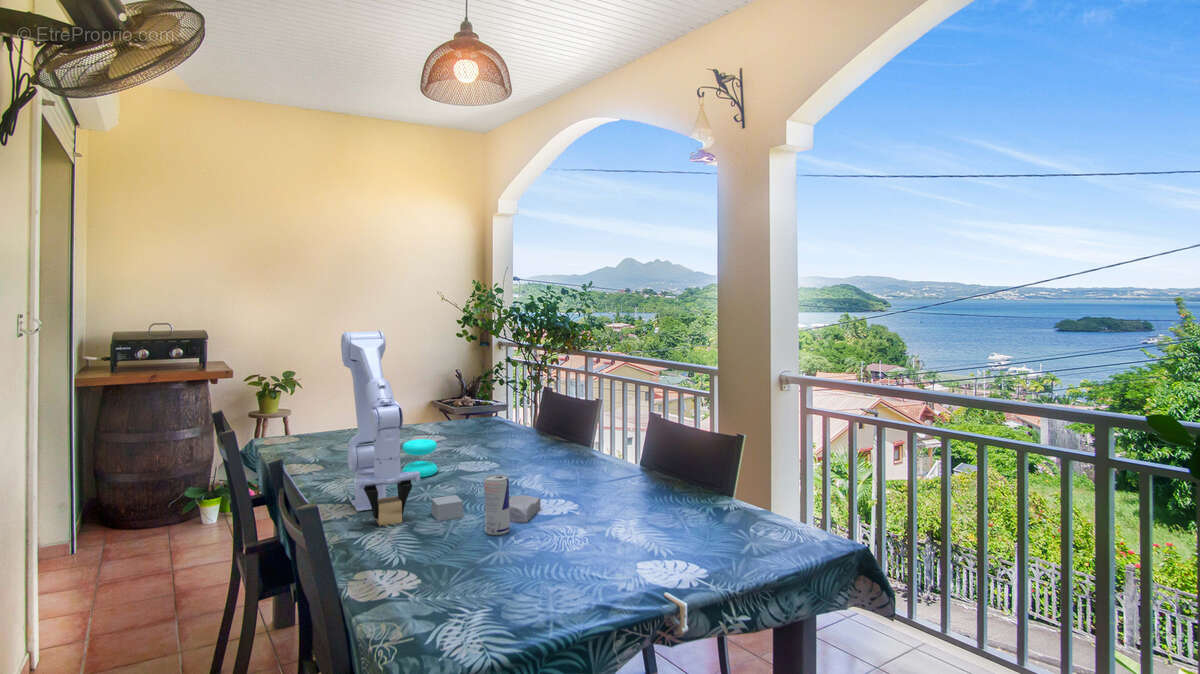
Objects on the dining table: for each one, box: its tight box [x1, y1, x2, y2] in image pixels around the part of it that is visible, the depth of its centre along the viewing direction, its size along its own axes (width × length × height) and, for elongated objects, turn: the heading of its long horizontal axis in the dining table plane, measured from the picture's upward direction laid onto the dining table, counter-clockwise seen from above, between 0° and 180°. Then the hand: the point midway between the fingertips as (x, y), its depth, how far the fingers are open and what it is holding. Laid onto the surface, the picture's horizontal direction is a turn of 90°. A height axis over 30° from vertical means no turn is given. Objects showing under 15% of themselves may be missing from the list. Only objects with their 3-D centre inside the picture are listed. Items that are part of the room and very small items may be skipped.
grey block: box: [431, 494, 464, 522], centre depth 152 cm, size 6×6×4 cm
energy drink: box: [483, 474, 511, 536], centre depth 141 cm, size 5×5×12 cm
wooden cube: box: [374, 495, 403, 527], centre depth 148 cm, size 5×5×5 cm
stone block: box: [509, 494, 542, 524], centre depth 153 cm, size 12×5×10 cm
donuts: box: [402, 438, 438, 479], centre depth 192 cm, size 10×10×10 cm
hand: (388, 515), depth 148 cm, fingers closed on wooden cube, 5 cm apart
